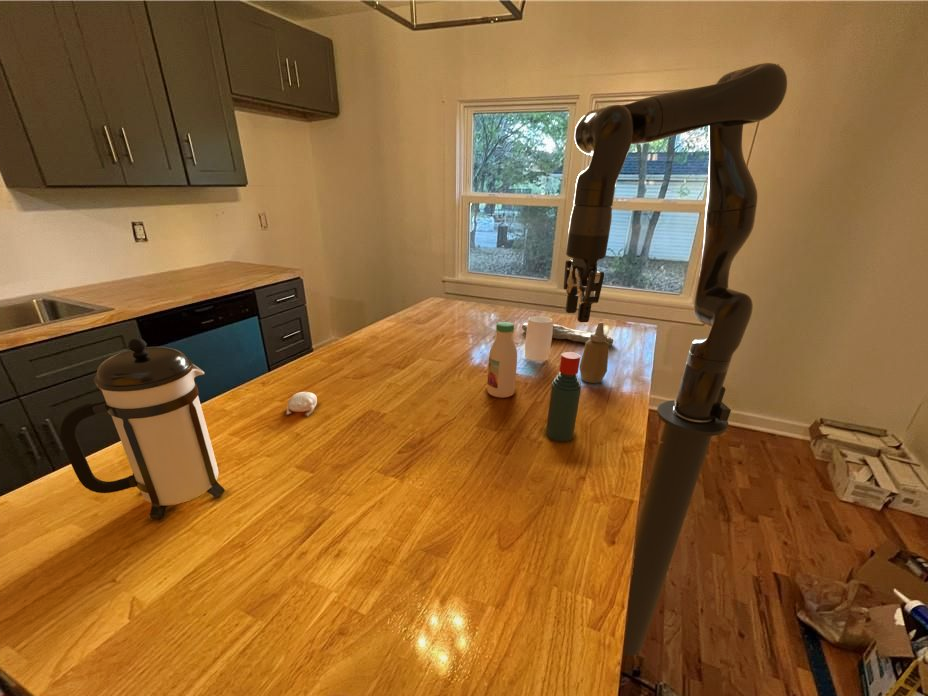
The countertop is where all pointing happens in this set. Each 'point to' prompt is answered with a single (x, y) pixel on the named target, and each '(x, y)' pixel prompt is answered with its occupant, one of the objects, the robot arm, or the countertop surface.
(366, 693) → the countertop surface
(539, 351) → the cup
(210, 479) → the coffee press
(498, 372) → the milk bottle
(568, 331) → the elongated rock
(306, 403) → the white turtle figurine
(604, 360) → the squeeze bottle
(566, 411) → the water bottle
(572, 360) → the cap
